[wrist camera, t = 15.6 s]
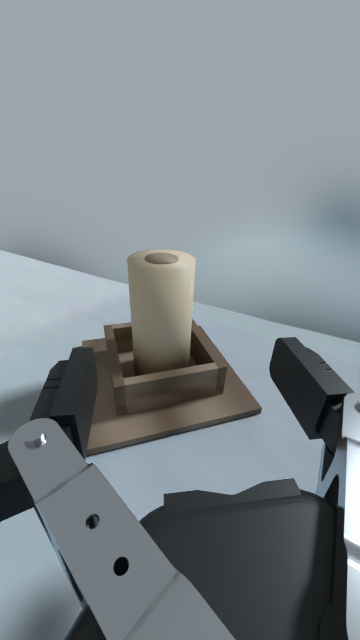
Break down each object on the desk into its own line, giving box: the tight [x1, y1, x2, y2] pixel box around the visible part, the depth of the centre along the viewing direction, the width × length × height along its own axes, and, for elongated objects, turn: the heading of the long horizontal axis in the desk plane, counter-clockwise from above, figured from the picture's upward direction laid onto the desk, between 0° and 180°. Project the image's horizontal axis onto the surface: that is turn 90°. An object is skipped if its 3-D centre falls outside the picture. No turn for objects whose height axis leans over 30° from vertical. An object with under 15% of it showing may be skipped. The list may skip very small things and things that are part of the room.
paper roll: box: [127, 250, 196, 376], centre depth 24 cm, size 5×5×11 cm
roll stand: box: [82, 319, 262, 456], centre depth 26 cm, size 14×14×4 cm
